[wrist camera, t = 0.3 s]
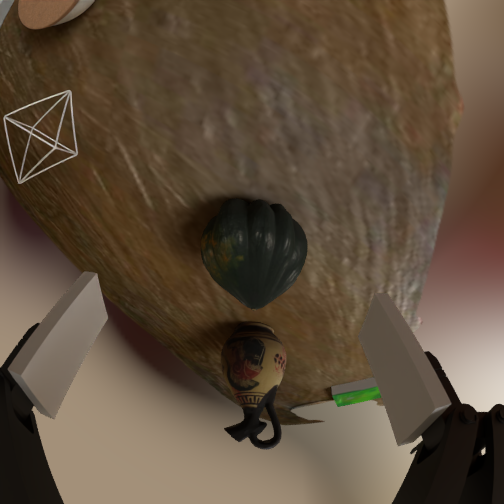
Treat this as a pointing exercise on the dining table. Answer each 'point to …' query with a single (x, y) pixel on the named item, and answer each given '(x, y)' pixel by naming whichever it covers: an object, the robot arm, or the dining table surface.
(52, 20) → the lidded jar
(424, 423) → the robot arm
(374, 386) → the tray
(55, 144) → the geometric polyhedron
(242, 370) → the ceramic jug
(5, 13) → the frame
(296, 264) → the squash
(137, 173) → the dining table surface
